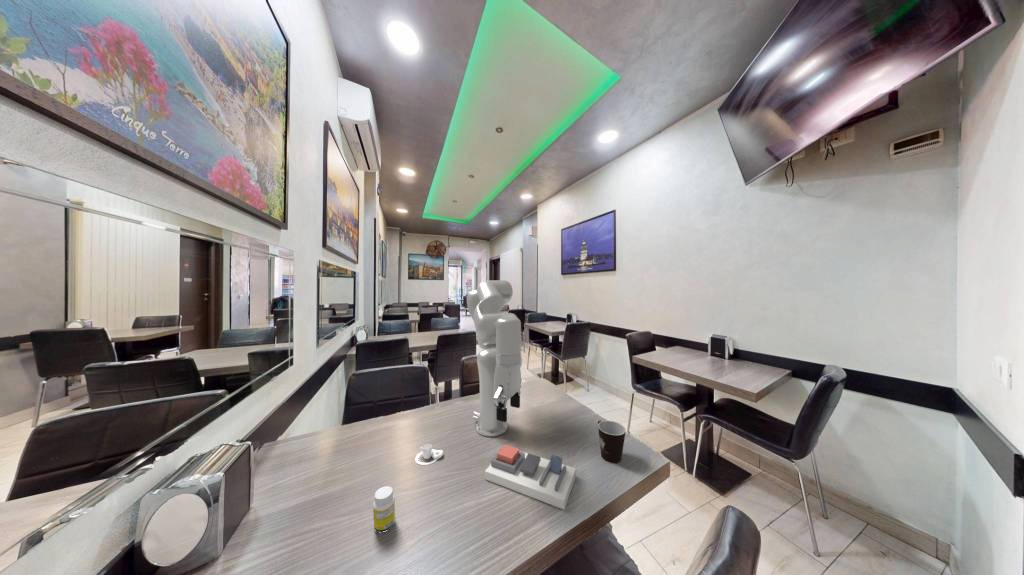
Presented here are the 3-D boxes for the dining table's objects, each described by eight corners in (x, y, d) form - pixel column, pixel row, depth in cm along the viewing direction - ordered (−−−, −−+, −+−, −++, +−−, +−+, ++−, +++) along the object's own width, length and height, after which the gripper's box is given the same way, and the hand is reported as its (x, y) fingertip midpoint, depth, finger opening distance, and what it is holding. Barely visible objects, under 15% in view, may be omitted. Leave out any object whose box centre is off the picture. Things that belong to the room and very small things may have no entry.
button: (497, 460, 85) (497, 453, 85) (505, 450, 89) (505, 444, 89) (512, 465, 82) (512, 458, 82) (519, 455, 87) (519, 449, 87)
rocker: (520, 472, 81) (520, 468, 81) (528, 456, 86) (528, 453, 86) (533, 476, 79) (533, 472, 79) (540, 460, 84) (540, 456, 84)
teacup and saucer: (446, 454, 94) (446, 443, 94) (430, 470, 87) (430, 457, 86) (426, 448, 98) (426, 436, 97) (409, 462, 90) (409, 450, 90)
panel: (485, 479, 82) (484, 465, 82) (505, 453, 94) (505, 441, 94) (564, 509, 72) (564, 493, 71) (575, 476, 83) (576, 462, 83)
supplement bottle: (378, 517, 70) (377, 485, 69) (398, 515, 70) (397, 483, 69) (370, 535, 65) (369, 501, 64) (391, 533, 65) (390, 499, 65)
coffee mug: (627, 467, 87) (628, 436, 86) (598, 463, 89) (599, 433, 88) (620, 444, 98) (621, 417, 98) (595, 441, 100) (595, 415, 100)
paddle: (550, 471, 82) (550, 455, 81) (551, 468, 83) (551, 452, 83) (561, 474, 80) (561, 459, 80) (562, 471, 81) (563, 456, 81)
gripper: (510, 349, 93) (510, 399, 94) (482, 364, 78) (483, 424, 79) (530, 352, 90) (530, 403, 91) (506, 368, 75) (506, 431, 76)
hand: (508, 413), depth 85 cm, fingers open, 8 cm apart
